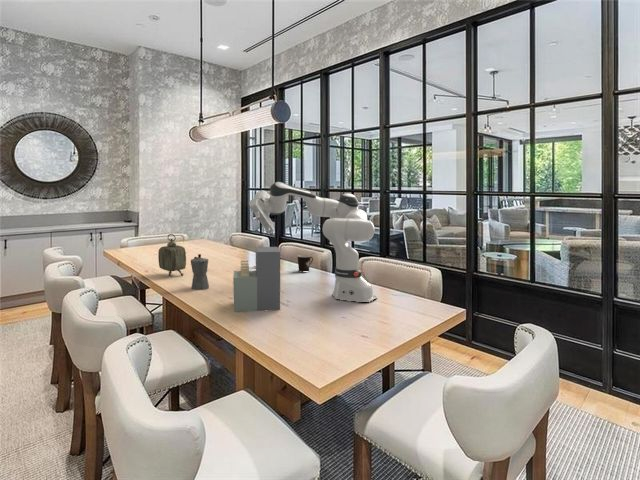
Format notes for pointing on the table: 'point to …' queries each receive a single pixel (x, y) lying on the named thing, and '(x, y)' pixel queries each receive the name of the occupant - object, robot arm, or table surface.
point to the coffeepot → (199, 273)
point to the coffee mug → (304, 262)
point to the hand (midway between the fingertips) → (262, 225)
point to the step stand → (259, 283)
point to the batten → (244, 268)
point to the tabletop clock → (172, 257)
